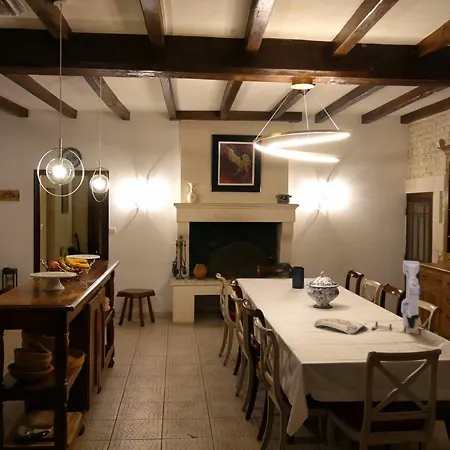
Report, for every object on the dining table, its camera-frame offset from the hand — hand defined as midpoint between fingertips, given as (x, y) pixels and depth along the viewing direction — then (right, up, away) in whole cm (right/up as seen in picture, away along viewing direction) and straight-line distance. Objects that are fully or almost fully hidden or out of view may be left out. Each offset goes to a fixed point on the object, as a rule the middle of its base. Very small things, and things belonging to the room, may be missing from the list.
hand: (412, 326), depth 317 cm
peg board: (-7, -5, +6) cm, 11 cm away
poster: (-41, -4, +17) cm, 44 cm away
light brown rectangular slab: (0, -2, 0) cm, 2 cm away
